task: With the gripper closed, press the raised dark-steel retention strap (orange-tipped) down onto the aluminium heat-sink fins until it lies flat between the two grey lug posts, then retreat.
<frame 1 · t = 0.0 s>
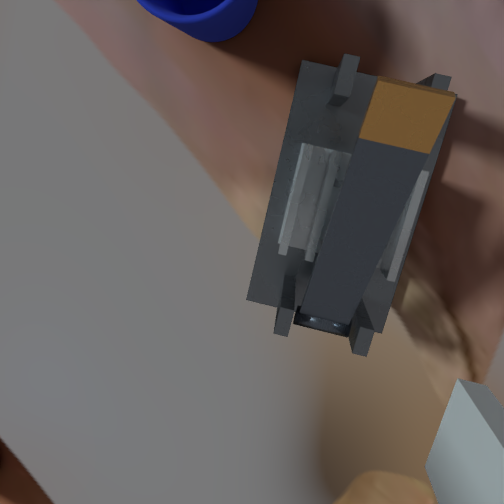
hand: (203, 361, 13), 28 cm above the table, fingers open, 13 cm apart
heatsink: (343, 202, 39), on the table
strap: (356, 234, 28), point 11 cm above the table, hinge at 30.0°
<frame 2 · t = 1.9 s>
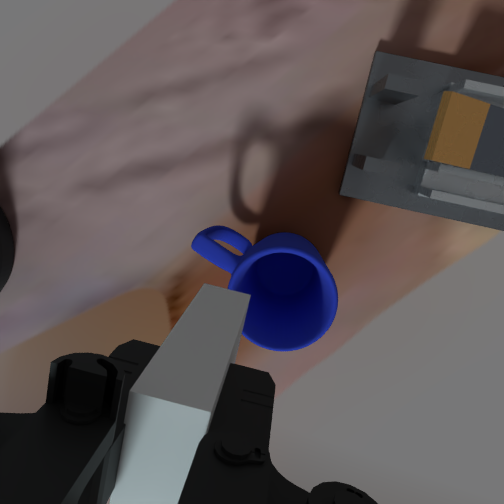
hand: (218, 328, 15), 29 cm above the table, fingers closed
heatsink: (470, 150, 40), on the table
mug: (267, 254, 44), on the table
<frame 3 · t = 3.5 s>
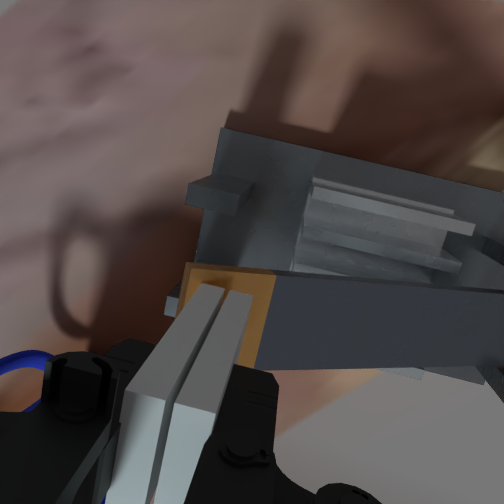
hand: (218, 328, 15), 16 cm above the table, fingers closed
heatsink: (355, 257, 30), on the table
mug: (104, 375, 34), on the table
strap: (398, 325, 19), point 11 cm above the table, hinge at 29.4°, touching gripper
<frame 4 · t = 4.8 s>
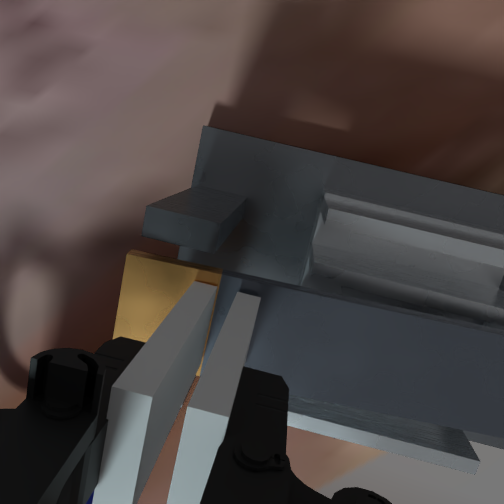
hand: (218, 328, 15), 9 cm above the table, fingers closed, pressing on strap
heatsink: (377, 293, 23), on the table
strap: (397, 362, 16), point 8 cm above the table, hinge at 5.7°, touching gripper
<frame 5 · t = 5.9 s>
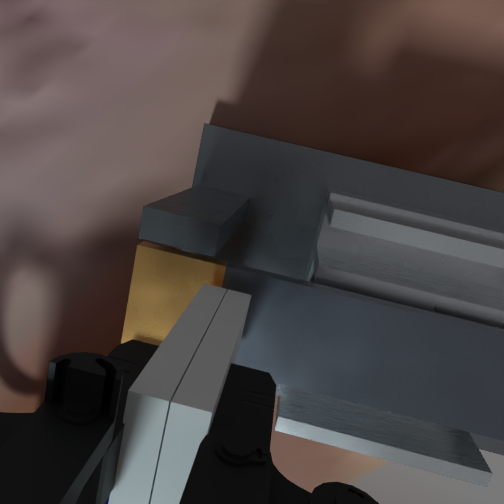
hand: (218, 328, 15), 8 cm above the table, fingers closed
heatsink: (384, 296, 22), on the table
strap: (400, 359, 16), point 7 cm above the table, hinge at 0.8°
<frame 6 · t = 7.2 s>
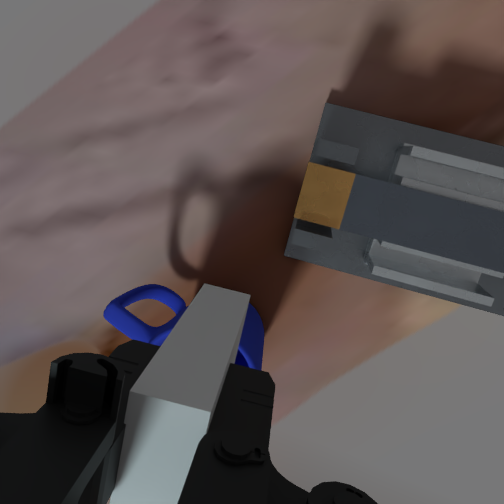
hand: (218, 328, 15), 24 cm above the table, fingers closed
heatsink: (430, 214, 36), on the table
mug: (208, 312, 41), on the table
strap: (446, 227, 29), point 7 cm above the table, hinge at 0.8°
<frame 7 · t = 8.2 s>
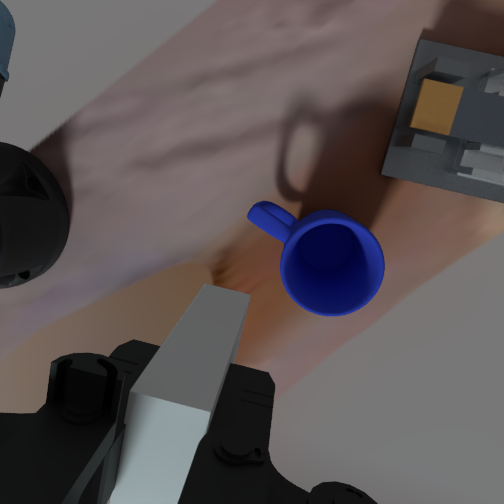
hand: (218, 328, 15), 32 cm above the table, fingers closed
mug: (309, 231, 47), on the table
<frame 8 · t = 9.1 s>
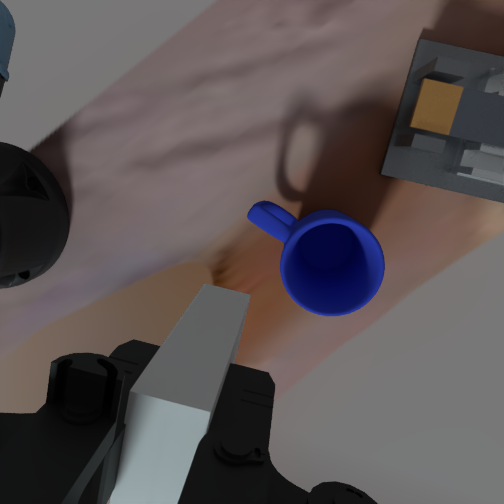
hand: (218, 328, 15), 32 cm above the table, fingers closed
mug: (309, 230, 47), on the table
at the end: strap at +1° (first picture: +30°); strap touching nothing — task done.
